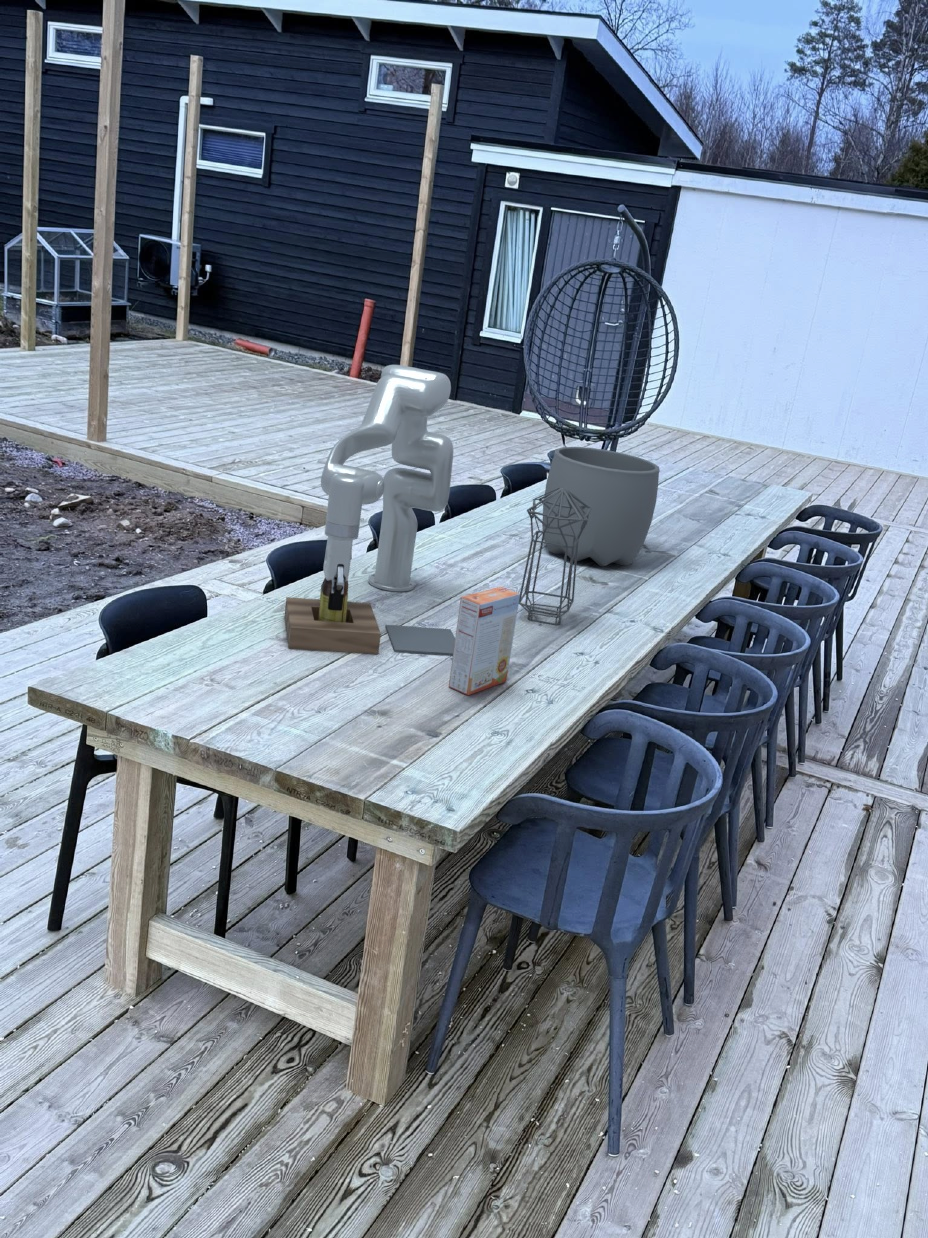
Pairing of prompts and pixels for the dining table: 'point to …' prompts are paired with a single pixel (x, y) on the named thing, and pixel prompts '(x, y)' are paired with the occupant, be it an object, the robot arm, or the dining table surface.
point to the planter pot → (602, 503)
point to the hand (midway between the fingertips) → (333, 603)
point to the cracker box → (483, 640)
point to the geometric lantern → (577, 510)
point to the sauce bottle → (324, 599)
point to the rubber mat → (421, 640)
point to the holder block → (331, 628)
